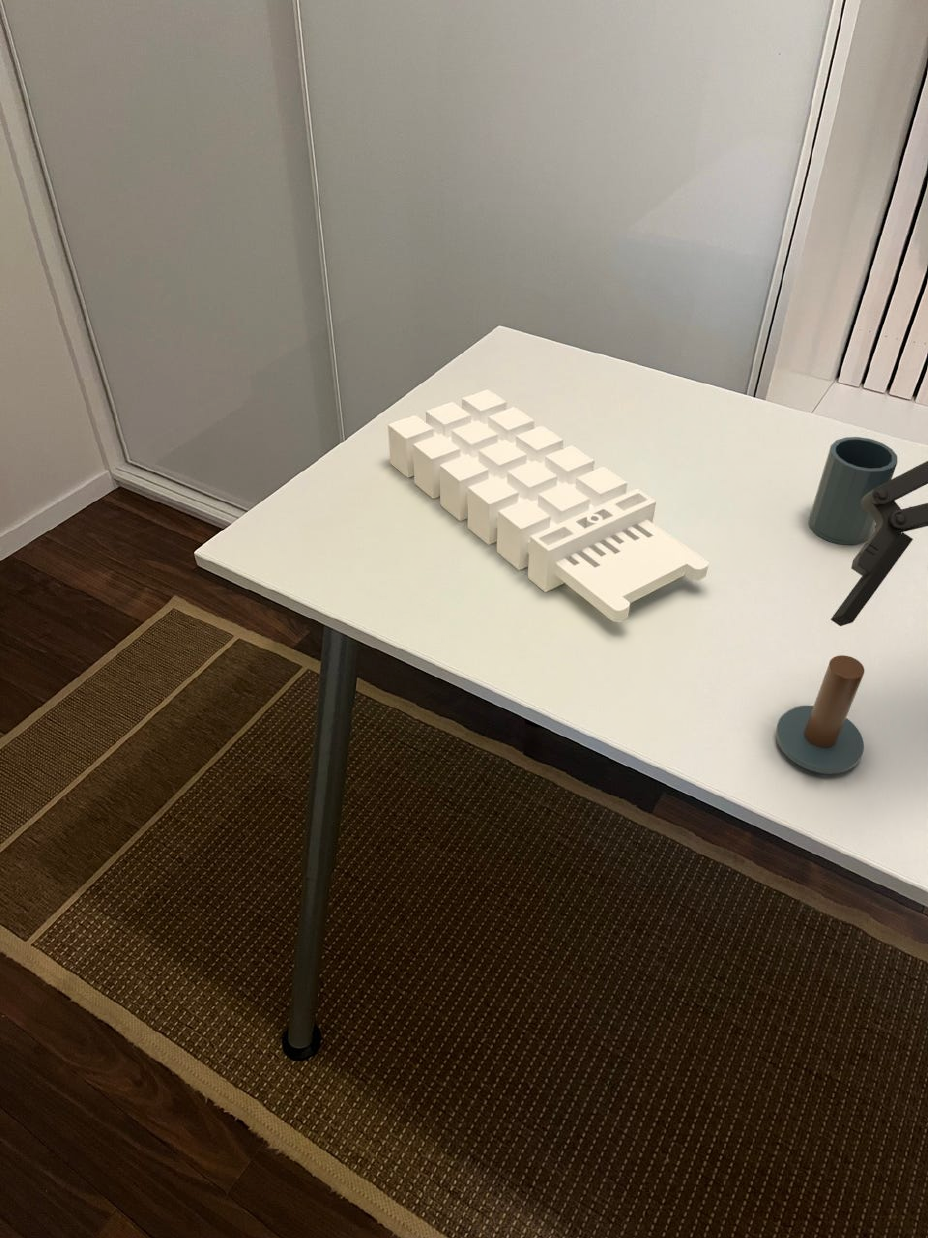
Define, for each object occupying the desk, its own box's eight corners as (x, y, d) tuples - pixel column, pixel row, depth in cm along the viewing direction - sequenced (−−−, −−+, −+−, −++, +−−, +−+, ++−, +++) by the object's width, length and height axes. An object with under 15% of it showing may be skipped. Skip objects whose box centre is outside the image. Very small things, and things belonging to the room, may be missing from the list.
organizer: (487, 389, 105) (721, 545, 84) (486, 427, 108) (712, 586, 87) (387, 424, 99) (612, 601, 78) (390, 463, 102) (606, 643, 81)
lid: (860, 726, 74) (893, 646, 68) (859, 788, 70) (895, 708, 64) (777, 707, 76) (803, 628, 70) (770, 767, 71) (798, 687, 65)
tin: (871, 515, 95) (897, 442, 90) (871, 549, 91) (898, 475, 85) (810, 504, 97) (831, 432, 91) (807, 538, 93) (829, 464, 87)
